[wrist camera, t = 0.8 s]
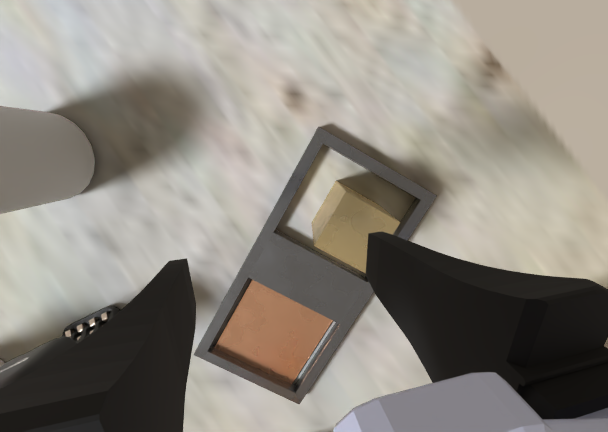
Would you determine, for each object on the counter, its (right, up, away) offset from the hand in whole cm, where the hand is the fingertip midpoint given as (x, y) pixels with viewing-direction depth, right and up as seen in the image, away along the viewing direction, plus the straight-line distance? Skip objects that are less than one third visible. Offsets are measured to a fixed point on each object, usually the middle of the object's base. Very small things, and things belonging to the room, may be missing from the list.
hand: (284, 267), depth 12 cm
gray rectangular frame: (+1, -4, +18) cm, 19 cm away
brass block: (+5, +2, +17) cm, 18 cm away
